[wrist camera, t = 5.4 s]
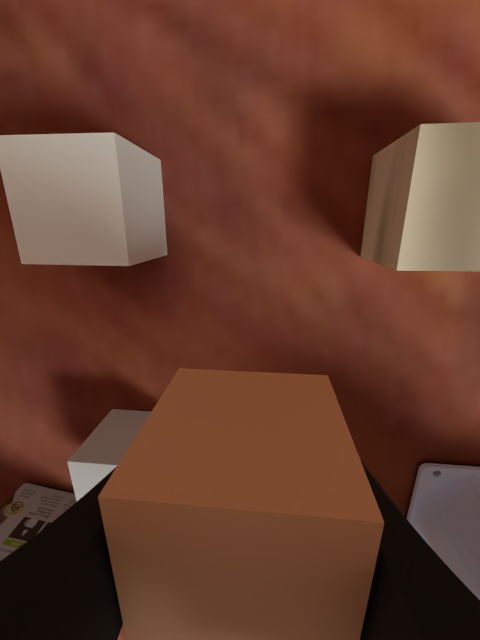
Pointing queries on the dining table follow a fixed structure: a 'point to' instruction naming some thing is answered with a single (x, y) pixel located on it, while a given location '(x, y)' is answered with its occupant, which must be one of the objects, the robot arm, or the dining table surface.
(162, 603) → the terracotta block
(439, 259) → the maple block
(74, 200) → the white block
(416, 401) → the dining table surface
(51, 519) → the coffee box
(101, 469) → the grey block
